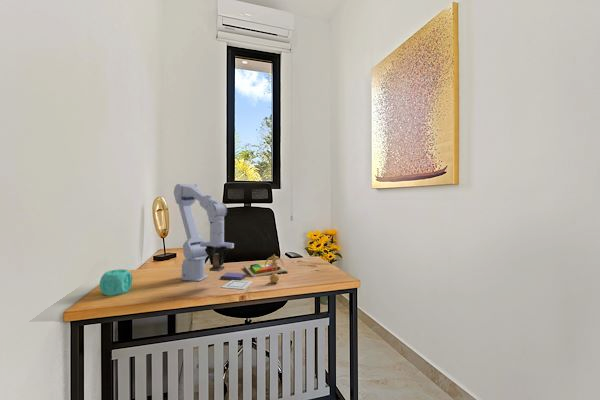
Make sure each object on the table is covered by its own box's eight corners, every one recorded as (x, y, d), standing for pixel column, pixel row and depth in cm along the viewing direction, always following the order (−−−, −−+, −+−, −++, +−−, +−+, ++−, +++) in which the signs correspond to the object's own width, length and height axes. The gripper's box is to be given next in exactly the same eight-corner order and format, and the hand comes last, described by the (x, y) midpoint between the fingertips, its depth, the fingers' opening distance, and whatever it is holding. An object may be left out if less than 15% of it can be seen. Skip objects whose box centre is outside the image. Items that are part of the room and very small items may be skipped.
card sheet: (221, 287, 115) (221, 287, 115) (232, 280, 125) (232, 279, 125) (244, 289, 113) (244, 288, 113) (253, 281, 123) (253, 281, 123)
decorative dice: (112, 289, 113) (111, 269, 113) (132, 288, 113) (132, 269, 113) (99, 296, 105) (99, 275, 105) (121, 295, 105) (121, 274, 105)
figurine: (264, 284, 119) (265, 256, 119) (264, 280, 125) (264, 253, 125) (284, 283, 121) (284, 256, 120) (283, 279, 127) (283, 253, 126)
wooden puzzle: (243, 268, 146) (243, 262, 146) (277, 265, 153) (277, 259, 153) (250, 278, 130) (250, 270, 130) (288, 274, 137) (288, 266, 137)
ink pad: (220, 279, 127) (220, 276, 127) (227, 274, 133) (227, 272, 133) (240, 280, 125) (240, 277, 125) (247, 276, 131) (247, 273, 131)
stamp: (209, 270, 116) (209, 255, 116) (214, 268, 120) (214, 253, 120) (219, 271, 115) (219, 255, 115) (224, 268, 119) (224, 253, 119)
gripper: (195, 232, 115) (195, 265, 115) (228, 234, 112) (228, 268, 112) (205, 230, 122) (205, 261, 122) (236, 231, 119) (236, 263, 119)
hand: (216, 264), depth 118 cm, fingers closed on stamp, 3 cm apart
